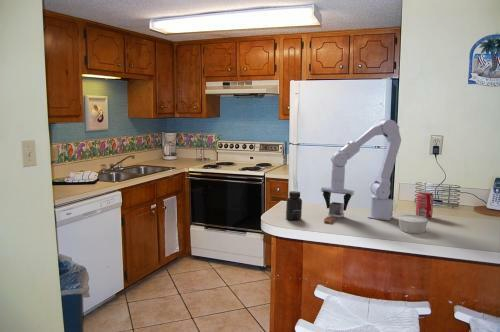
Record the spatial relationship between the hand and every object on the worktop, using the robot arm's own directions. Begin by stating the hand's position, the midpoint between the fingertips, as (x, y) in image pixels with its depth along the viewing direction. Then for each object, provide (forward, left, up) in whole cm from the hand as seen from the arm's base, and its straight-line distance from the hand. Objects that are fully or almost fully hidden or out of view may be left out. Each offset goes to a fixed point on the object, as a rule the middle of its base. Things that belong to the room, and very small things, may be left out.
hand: (336, 209), depth 188 cm
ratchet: (0, +5, -3) cm, 6 cm away
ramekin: (-33, +5, -4) cm, 34 cm away
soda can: (-35, -20, -4) cm, 40 cm away
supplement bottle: (+15, +14, -4) cm, 21 cm away
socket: (0, 0, -2) cm, 2 cm away
